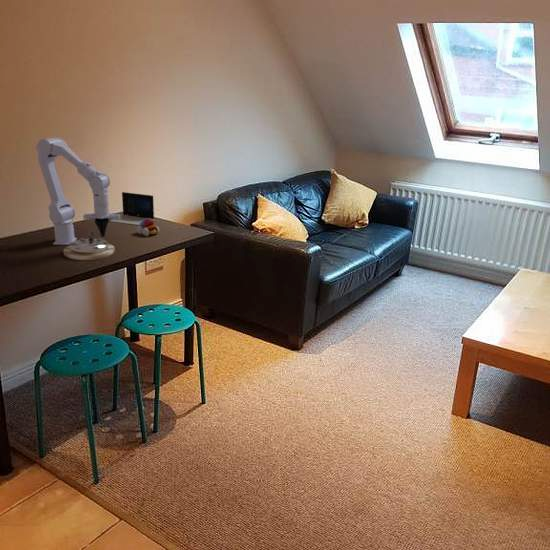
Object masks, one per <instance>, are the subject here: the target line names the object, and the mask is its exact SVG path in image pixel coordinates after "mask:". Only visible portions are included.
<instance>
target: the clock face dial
mask: <svg viewBox="0 0 550 550" xmlns="http://www.w3.org/2000/svg"><path fill="white" fill-rule="evenodd" d="M87 233H88V234H87V235H88V238H85V237H82V238H80V239H76V240H75V241H74V242H70V243H69V245H68V246H70V251H71V252H73V253H77V254H95V253H101V252H104V251H106V250H107V249H108V244H109V241H107V240H105V239H103V237H101V238H100V237H98V238H94V231H93V230H89V231H88V232H87Z"/></svg>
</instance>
